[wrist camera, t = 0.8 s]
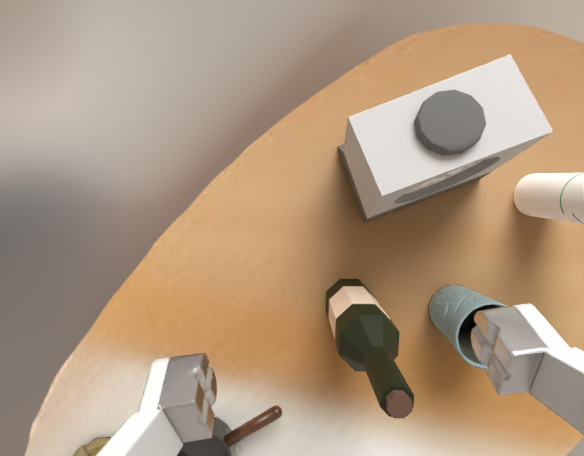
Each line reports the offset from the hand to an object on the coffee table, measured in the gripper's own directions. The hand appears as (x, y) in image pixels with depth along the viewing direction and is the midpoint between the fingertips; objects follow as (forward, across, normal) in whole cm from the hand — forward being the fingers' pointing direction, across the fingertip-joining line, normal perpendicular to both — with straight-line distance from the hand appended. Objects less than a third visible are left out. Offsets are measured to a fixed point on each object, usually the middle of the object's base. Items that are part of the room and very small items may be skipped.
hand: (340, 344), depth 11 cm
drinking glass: (+37, +24, -42) cm, 61 cm away
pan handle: (+28, -14, -54) cm, 62 cm away
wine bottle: (+38, +6, -38) cm, 55 cm away
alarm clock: (+49, +19, -18) cm, 55 cm away
